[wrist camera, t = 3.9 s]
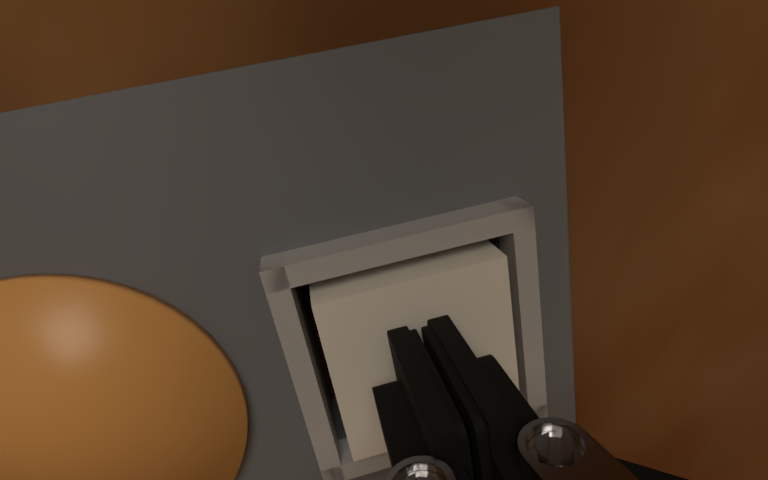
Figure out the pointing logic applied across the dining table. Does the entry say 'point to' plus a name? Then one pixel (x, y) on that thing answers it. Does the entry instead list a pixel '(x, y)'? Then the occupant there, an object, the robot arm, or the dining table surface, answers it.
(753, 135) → the dining table surface
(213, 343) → the grey flat rectangular block
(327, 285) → the button
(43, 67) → the dining table surface
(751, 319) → the dining table surface
